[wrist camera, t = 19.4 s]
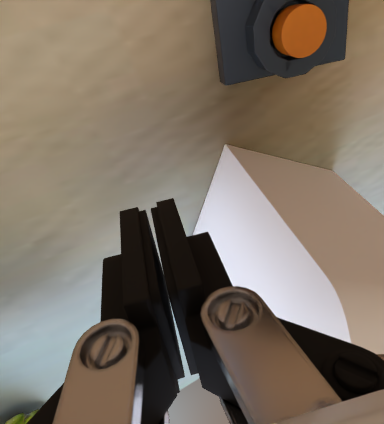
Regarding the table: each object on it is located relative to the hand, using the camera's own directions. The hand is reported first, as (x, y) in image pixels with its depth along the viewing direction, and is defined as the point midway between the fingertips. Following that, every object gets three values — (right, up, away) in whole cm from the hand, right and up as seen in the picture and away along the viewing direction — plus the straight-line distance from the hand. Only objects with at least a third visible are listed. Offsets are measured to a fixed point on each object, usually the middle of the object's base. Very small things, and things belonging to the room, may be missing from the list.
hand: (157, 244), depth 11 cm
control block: (+7, +16, +15) cm, 24 cm away
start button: (+8, +14, +13) cm, 21 cm away
